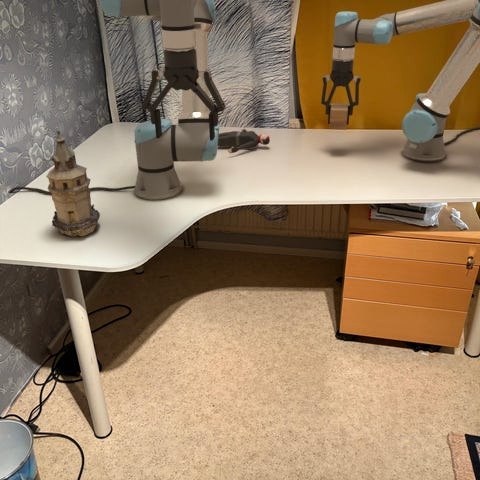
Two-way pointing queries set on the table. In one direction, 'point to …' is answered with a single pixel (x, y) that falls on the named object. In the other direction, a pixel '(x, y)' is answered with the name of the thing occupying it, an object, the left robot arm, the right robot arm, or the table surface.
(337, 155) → the table surface
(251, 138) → the toy
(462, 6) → the right robot arm
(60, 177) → the miniature building
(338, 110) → the brick
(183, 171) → the table surface
